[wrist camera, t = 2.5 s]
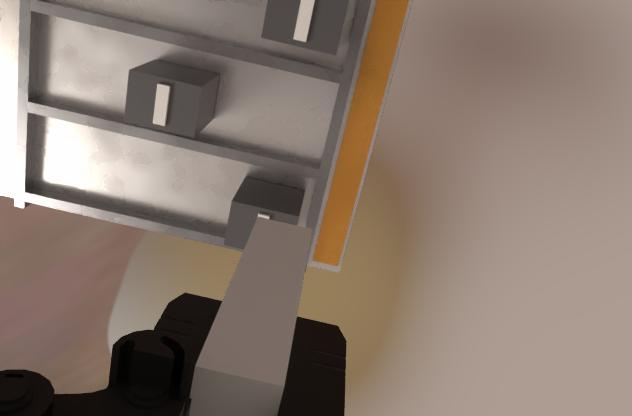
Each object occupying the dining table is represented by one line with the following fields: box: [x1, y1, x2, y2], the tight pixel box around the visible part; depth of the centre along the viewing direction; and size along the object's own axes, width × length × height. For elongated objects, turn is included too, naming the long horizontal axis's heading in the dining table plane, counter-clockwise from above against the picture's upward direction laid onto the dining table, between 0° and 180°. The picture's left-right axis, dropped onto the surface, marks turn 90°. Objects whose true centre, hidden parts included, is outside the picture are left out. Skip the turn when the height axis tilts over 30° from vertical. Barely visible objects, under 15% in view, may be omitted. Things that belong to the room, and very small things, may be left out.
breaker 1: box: [224, 177, 305, 250], centre depth 32 cm, size 3×4×4 cm
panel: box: [0, 0, 413, 272], centre depth 33 cm, size 18×22×2 cm
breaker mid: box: [124, 59, 220, 138], centre depth 30 cm, size 3×4×4 cm
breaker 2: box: [261, 0, 349, 56], centre depth 28 cm, size 3×4×4 cm
